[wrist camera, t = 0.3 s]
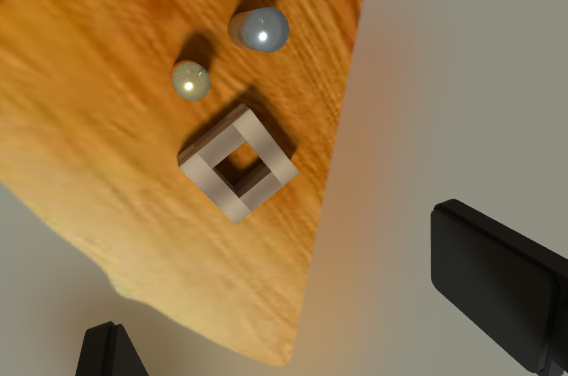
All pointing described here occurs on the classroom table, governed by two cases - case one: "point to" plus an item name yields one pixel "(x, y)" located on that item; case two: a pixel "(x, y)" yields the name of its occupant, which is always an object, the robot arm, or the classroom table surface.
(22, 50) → the classroom table surface
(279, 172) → the beige socket block
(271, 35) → the long steel pin
